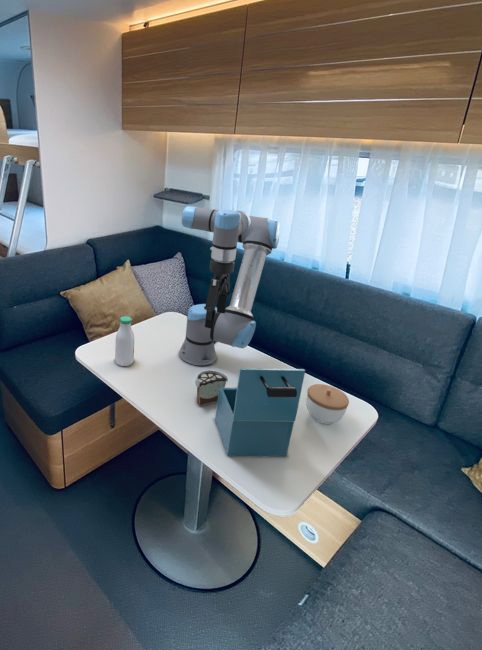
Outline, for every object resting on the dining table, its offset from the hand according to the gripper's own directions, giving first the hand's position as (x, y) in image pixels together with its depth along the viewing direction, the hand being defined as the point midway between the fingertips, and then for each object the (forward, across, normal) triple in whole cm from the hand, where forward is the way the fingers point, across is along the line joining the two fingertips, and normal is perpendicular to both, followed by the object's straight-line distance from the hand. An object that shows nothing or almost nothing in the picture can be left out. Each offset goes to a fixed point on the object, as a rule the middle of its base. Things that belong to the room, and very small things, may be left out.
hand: (215, 319), depth 137 cm
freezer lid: (+10, +18, +22) cm, 30 cm away
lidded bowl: (+32, -11, +38) cm, 51 cm away
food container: (+32, 0, 0) cm, 32 cm away
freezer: (+32, +12, +18) cm, 39 cm away
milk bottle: (+32, -6, -37) cm, 49 cm away
